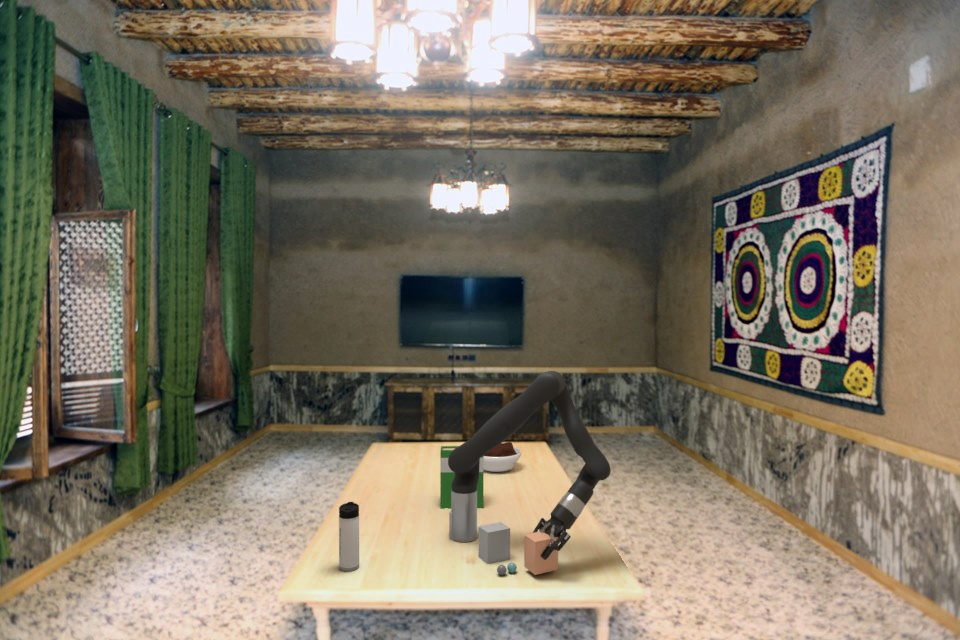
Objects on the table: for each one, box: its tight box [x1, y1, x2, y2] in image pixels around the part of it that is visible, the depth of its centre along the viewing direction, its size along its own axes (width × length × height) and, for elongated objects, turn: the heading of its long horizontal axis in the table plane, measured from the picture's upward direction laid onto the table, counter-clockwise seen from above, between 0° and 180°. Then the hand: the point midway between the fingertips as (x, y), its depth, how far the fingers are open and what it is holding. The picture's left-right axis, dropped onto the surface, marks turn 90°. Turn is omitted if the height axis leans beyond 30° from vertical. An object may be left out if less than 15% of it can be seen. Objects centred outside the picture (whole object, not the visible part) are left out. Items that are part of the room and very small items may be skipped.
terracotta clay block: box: [523, 531, 559, 576], centre depth 187 cm, size 8×6×10 cm
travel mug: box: [338, 501, 360, 572], centre depth 190 cm, size 6×7×20 cm
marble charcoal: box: [496, 564, 508, 576], centre depth 185 cm, size 3×3×3 cm
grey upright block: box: [477, 521, 511, 565], centre depth 197 cm, size 8×6×10 cm
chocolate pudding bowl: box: [484, 441, 522, 473], centre depth 302 cm, size 25×25×15 cm
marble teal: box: [506, 562, 518, 574], centre depth 187 cm, size 3×3×3 cm
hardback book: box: [439, 445, 485, 510], centre depth 248 cm, size 18×7×24 cm, turn 92°
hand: (536, 553), depth 186 cm, fingers closed on terracotta clay block, 6 cm apart
